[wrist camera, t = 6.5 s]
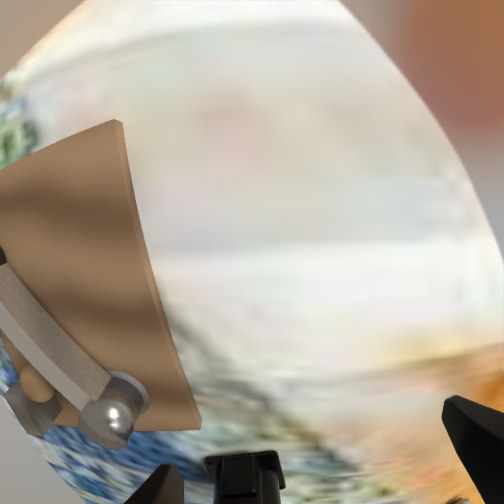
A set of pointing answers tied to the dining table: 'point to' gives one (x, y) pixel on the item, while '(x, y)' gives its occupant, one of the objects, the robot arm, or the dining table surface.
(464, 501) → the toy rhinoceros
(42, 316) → the lever
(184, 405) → the base
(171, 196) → the dining table surface
